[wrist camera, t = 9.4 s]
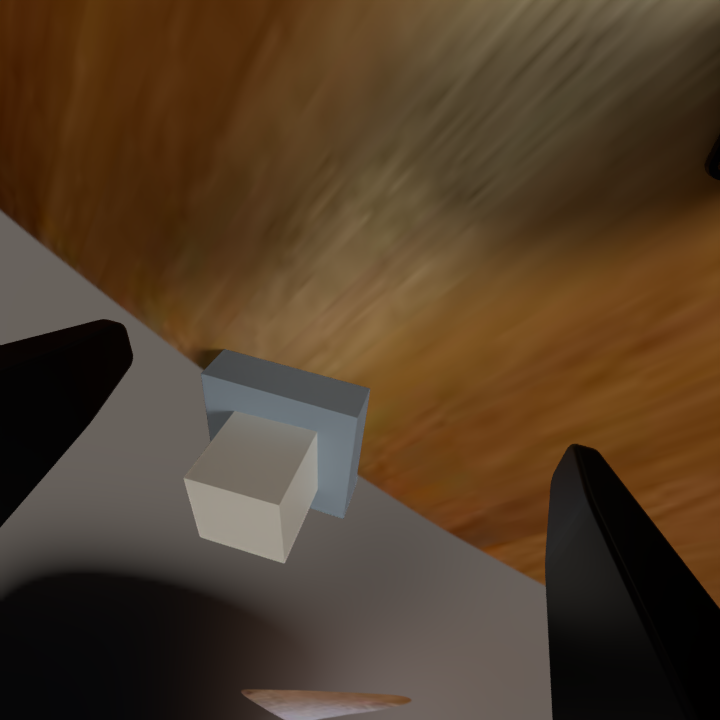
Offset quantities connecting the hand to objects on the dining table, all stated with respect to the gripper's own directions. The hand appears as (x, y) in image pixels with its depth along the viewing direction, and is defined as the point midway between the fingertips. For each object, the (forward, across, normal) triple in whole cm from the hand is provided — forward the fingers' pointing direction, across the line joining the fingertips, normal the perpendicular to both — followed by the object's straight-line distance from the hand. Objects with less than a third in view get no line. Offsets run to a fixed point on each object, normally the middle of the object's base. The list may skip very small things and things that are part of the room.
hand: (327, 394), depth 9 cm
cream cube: (+10, +6, +15) cm, 19 cm away
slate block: (+13, +6, +15) cm, 21 cm away
